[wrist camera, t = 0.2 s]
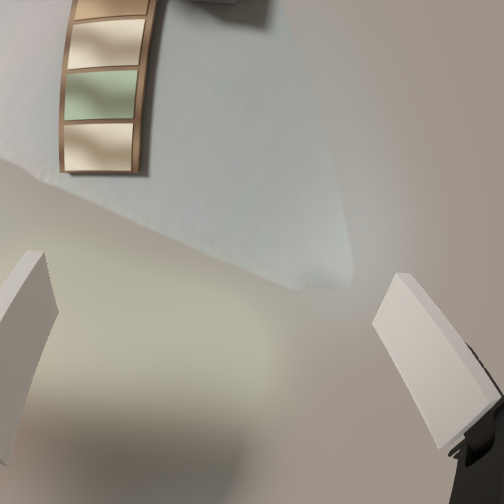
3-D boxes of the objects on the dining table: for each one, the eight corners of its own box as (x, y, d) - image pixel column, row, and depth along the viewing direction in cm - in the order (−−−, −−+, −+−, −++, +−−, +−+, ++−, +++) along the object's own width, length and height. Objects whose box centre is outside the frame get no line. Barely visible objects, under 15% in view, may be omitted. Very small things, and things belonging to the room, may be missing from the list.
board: (92, -57, 18) (89, -61, 16) (173, -64, 20) (172, -69, 18) (63, 170, 32) (59, 173, 31) (139, 170, 34) (137, 173, 33)
